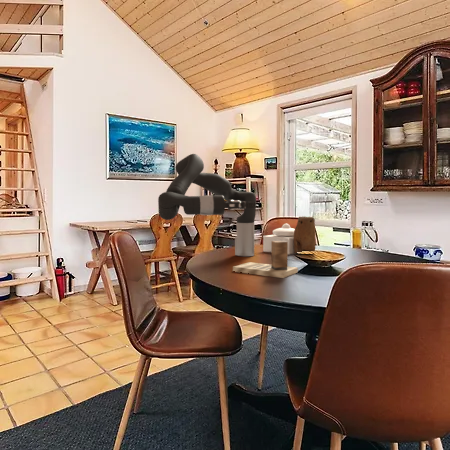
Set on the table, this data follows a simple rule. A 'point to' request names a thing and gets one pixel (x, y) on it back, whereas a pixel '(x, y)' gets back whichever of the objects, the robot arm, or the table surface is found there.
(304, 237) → the brown plush animal
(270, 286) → the table surface
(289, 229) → the white lidded container
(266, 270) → the board
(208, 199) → the robot arm
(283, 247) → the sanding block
